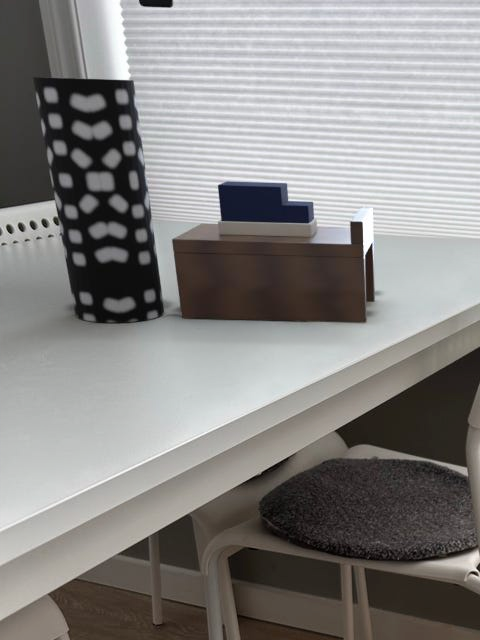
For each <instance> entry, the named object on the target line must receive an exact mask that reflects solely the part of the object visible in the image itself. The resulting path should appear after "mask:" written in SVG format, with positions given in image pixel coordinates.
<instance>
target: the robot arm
mask: <svg viewBox="0 0 480 640" xmlns="http://www.w3.org/2000/svg"><path fill="white" fill-rule="evenodd" d="M138 3H139V5H140V6H141V7H143V8H164V9H165V8H168V9H170V8H173V7H174V0H138Z"/></svg>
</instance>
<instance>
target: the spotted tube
mask: <svg viewBox="0 0 480 640" xmlns="http://www.w3.org/2000/svg"><path fill="white" fill-rule="evenodd" d="M32 80H33V87H34V91H35V97H36V103H37V108H38V114H39V119H40V125H41V131H42V135H43V136H42V137H43V142H44V147H45V152H46V159H47V163H48V169H49V170H48V171H49V176H50V180H51V181H50V182H51V187H52V193H53V198H54V204H55V207H56V214H57V219H58V226H59V232H60V236H61V242H62V248H63V253H64V258H65V264H66V269H67V274H68V281H69V287H70V292H71V297H72V298H71V299H72V303H73V308H74V314H75V317H76V318H78V319H79V320H82V321H87V322H94V323H105V324H106V323H109V324H110V323H111V324H113V323H115V324H117V323H133V322H134V323H135V322H143V321H148V320H152V319H156V318H159V317H162V316H163V315H164V314H165V306H164V297H163V290H162V282H161V275H160V267H159V260H158V252H157V244H156V237H155V231H154V223H153V215H152V208H151V201H150V194H149V193H150V192H149V186H148V178H147V171H146V170H147V169H146V163H145V156H144V147H143V142H142V133H141V126H140V119H139V109H138V103H137V96H136V88H135V80H134V79H113V78H112V79H111V78H110V79H109V78H84V77H83V78H81V77H79V78H78V77H51V76H49V77H47V76H45V77H44V76H32Z"/></svg>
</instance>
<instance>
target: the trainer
mask: <svg viewBox="0 0 480 640" xmlns="http://www.w3.org/2000/svg"><path fill="white" fill-rule="evenodd" d="M288 190H289V189H288V183H287V182H261V181H260V182H258V181H230V180H229V181H224V182H222V183H220V184H218V185H217V191H218V201H219V210H220V211H219V212H220V219H219V220H218V221H217V224H218V228H219V235H249V236H284V237H312V236H313V235H314V234H315V233H316V232H317V227H318V220H317V218H315V211H314V201H305V200H304V201H303V200H301V201H300V200H294V201H293V200H289V191H288Z"/></svg>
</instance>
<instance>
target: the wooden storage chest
mask: <svg viewBox="0 0 480 640" xmlns="http://www.w3.org/2000/svg"><path fill="white" fill-rule="evenodd" d="M373 209H374V208H373V207H366V206H365V207H363V206H362V207H360V209H359V210H358V211H357V212H356V214H355V215H354V216H353V217H352V218H351V220H349V227H342V226H341V227H337V226H317V232H316V233H315V234H314V235H313V236H312V237H284V236H249V235H219V228H218V223H200V224H198V225H196V226H194V227H192V228H191V229H189V230H187V231H185V232H183V233H181V234H179V235H178V236H175V237H174V238H172V239H171V243H172V251H173V258H174V267H175V274H176V282H177V291H178V300H179V306H180V314H181V318H182V319H202V320H203V319H204V320H209V319H210V320H243V321H244V320H245V321H281V322H282V321H283V322H286V321H287V322H317V323H318V322H319V323H321V322H323V323H324V322H325V323H359V324H361V323H363V324H364V323H365V324H366V323H367V321H368V314H367V313H368V311H367V302H375V300H376V287H375V286H376V284H375V283H376V281H375V253H374V252H375V246H374V245H375V244H374V214H373V213H374V211H373Z"/></svg>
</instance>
